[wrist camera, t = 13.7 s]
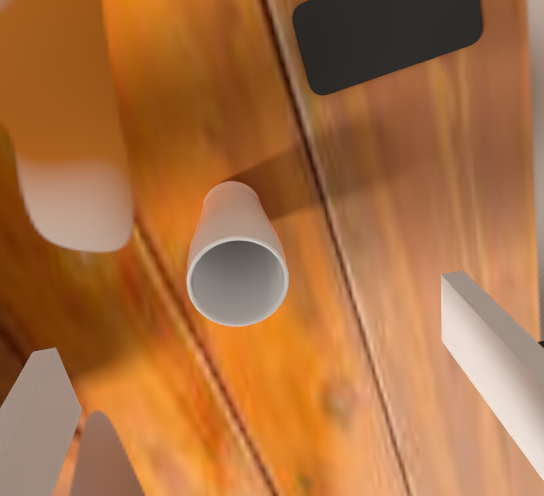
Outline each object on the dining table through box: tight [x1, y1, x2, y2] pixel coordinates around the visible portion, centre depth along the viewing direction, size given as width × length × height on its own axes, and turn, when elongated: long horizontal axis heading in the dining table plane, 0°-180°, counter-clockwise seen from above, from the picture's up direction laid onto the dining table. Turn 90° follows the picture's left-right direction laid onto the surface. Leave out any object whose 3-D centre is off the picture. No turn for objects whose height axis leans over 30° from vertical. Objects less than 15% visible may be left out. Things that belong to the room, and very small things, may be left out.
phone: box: [293, 0, 482, 95], centre depth 40 cm, size 7×1×15 cm
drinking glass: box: [187, 181, 289, 327], centre depth 38 cm, size 7×7×15 cm
